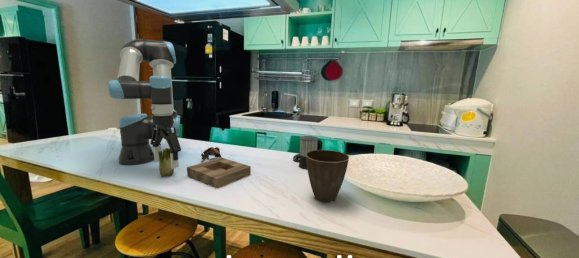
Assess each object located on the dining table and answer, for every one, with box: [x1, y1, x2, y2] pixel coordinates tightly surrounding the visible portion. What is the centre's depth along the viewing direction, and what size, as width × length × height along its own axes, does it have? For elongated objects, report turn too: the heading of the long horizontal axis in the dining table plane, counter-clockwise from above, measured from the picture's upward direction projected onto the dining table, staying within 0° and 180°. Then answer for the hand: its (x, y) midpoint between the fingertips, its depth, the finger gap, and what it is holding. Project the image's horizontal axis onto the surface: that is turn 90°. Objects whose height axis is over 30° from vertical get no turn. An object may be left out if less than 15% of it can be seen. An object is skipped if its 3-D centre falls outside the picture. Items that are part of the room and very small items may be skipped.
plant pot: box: [306, 149, 350, 204], centre depth 82 cm, size 15×15×16 cm
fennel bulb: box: [158, 147, 175, 178], centre depth 98 cm, size 6×5×12 cm
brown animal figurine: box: [200, 146, 222, 162], centre depth 120 cm, size 12×10×8 cm
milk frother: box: [292, 135, 323, 170], centre depth 118 cm, size 14×16×15 cm
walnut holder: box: [186, 156, 252, 189], centre depth 101 cm, size 20×18×4 cm
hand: (166, 164), depth 98 cm, fingers open, 13 cm apart
